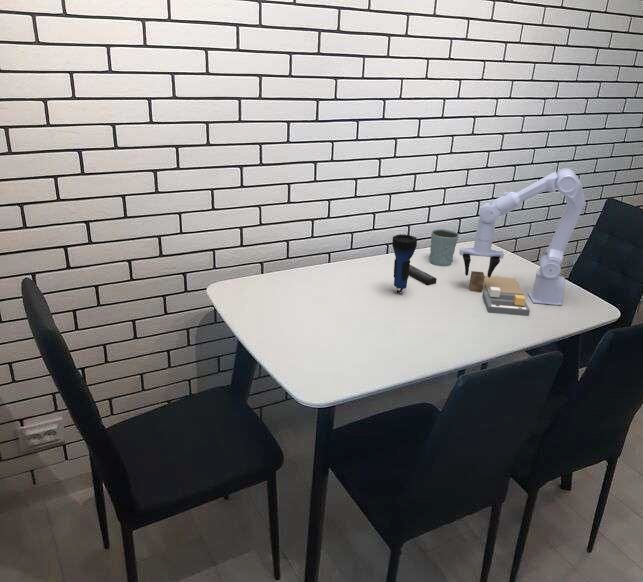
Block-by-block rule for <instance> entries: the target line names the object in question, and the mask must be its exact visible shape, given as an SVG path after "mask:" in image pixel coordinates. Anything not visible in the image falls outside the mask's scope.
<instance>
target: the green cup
mask: <svg viewBox="0 0 643 582" xmlns="http://www.w3.org/2000/svg"><path fill="white" fill-rule="evenodd" d="M430 237H431V239H430V240H431V241H430V253H429V263H430V264H432V265H434V266H438V267H449V266H451V265H452V262H453V258H454V254H455V250H456V247H457V243H458V240H459V233H458V232H456V231H453V230H449V229H445V228H437V229H433V230H432V231H431V235H430Z"/></svg>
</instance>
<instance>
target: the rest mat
mask: <svg viewBox="0 0 643 582" xmlns="http://www.w3.org/2000/svg"><path fill="white" fill-rule="evenodd" d="M484 276H485V278H484V284H483V285H484V286H485V289H486V292H489V290H490V287H499V288H500V290H501V291H500V293H507V294H519V295H524V292H523V291H522V288H521V287H520V285H519V283H518V281H517V279H516V278H515V277H506V276H505V277H504V276H503V277H502V276H492V275H491V277H490V278H489V277H488V276H487V275H484Z"/></svg>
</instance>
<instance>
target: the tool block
mask: <svg viewBox="0 0 643 582" xmlns="http://www.w3.org/2000/svg"><path fill="white" fill-rule="evenodd" d="M485 276H486V275H485V273H484V272H483V271H475V270H471V272H470V279H469V284H468V288H469V291H470V292H475V293H476V292H477V293H483V289H484V285H485V284H484V278H485Z"/></svg>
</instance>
